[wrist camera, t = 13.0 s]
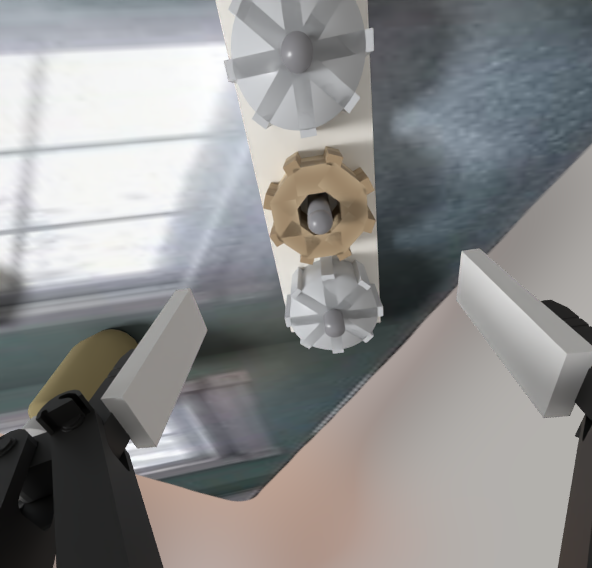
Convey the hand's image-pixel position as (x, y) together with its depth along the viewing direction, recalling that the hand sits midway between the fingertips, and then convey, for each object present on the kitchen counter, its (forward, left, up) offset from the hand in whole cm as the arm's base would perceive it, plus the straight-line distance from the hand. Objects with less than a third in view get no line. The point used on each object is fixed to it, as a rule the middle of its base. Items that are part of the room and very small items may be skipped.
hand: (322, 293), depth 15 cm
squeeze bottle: (+16, -30, -19) cm, 39 cm away
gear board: (0, 0, -19) cm, 19 cm away
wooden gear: (0, 0, -17) cm, 17 cm away
